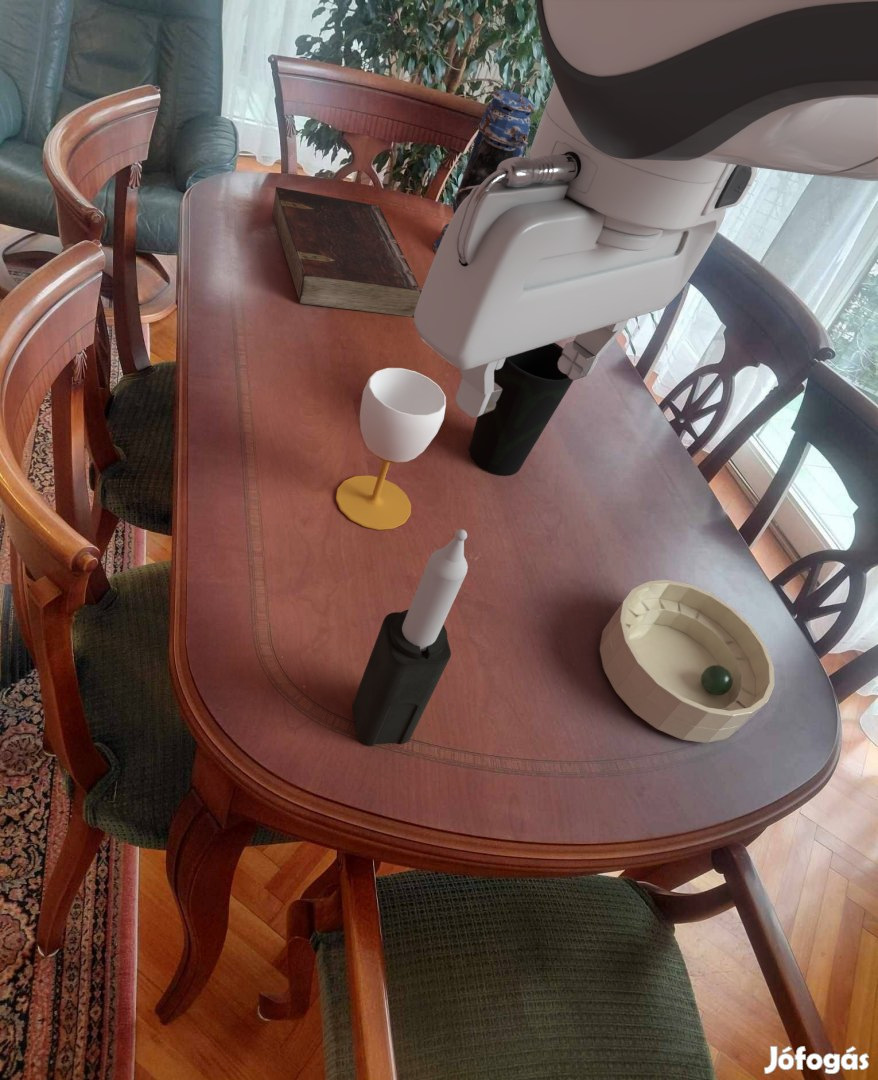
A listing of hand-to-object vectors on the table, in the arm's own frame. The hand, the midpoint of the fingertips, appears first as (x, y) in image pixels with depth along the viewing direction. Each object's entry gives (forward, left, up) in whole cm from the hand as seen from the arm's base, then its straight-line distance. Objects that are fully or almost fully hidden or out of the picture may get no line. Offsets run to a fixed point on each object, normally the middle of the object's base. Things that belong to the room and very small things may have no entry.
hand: (525, 389), depth 46 cm
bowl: (+20, -27, -37) cm, 50 cm away
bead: (+20, -31, -35) cm, 51 cm away
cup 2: (+45, 0, -37) cm, 58 cm away
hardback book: (+79, +36, -37) cm, 94 cm away
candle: (0, 0, -37) cm, 37 cm away
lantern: (+101, +20, -37) cm, 109 cm away
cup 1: (+27, +11, -37) cm, 47 cm away
